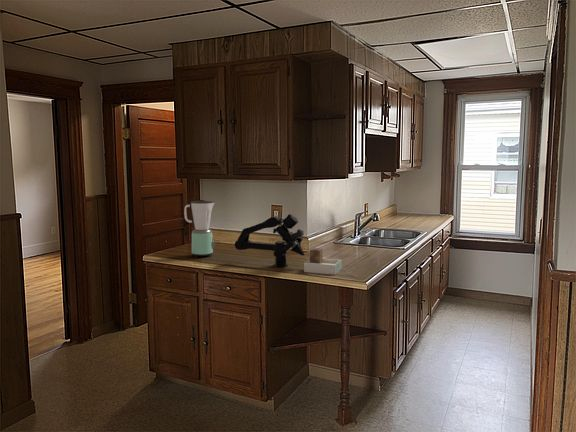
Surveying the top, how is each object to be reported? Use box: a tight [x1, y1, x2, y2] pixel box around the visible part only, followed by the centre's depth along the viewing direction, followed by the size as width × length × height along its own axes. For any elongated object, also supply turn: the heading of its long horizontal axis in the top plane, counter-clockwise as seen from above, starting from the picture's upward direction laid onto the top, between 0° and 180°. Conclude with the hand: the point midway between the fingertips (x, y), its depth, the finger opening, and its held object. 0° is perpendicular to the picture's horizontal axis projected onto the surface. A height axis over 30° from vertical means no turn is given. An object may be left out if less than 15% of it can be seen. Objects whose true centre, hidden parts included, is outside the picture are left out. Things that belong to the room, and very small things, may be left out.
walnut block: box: [308, 247, 324, 264], centre depth 270 cm, size 6×6×8 cm
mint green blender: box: [183, 199, 216, 258], centre depth 302 cm, size 19×13×35 cm
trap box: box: [303, 257, 342, 275], centre depth 266 cm, size 17×15×5 cm
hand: (303, 255), depth 272 cm, fingers closed
